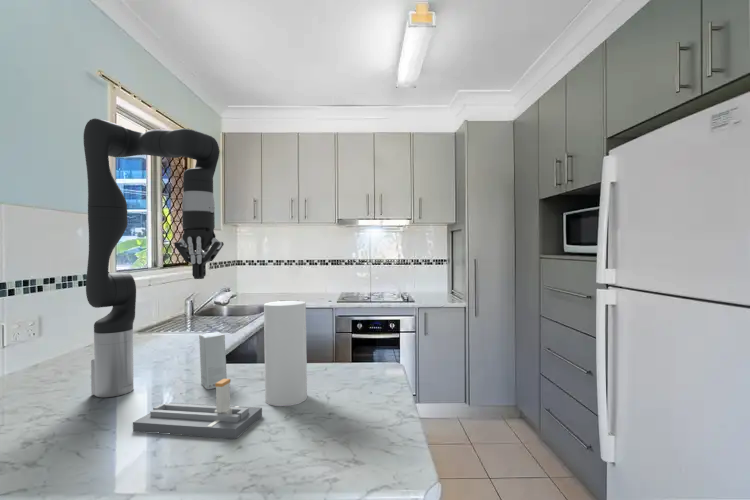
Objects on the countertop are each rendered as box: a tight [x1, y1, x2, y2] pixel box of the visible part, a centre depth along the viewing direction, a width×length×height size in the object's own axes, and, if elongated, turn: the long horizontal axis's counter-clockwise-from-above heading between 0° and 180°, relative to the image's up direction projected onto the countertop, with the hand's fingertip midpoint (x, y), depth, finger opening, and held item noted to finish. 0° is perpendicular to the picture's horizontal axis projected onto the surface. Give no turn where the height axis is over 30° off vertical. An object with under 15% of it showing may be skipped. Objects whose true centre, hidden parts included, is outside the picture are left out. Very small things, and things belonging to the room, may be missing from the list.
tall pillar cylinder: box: [263, 300, 308, 407], centre depth 108 cm, size 11×11×25 cm
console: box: [132, 402, 263, 440], centre depth 93 cm, size 24×12×3 cm, turn 79°
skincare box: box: [198, 331, 228, 390], centre depth 121 cm, size 8×6×15 cm
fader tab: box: [214, 378, 232, 414], centre depth 92 cm, size 3×3×8 cm
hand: (199, 278), depth 105 cm, fingers closed
